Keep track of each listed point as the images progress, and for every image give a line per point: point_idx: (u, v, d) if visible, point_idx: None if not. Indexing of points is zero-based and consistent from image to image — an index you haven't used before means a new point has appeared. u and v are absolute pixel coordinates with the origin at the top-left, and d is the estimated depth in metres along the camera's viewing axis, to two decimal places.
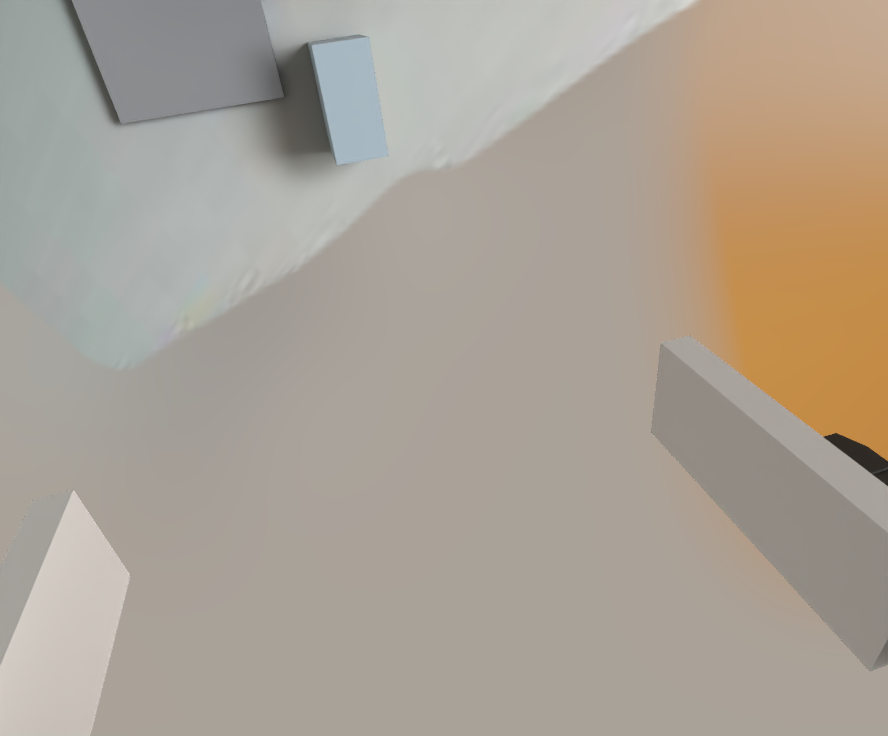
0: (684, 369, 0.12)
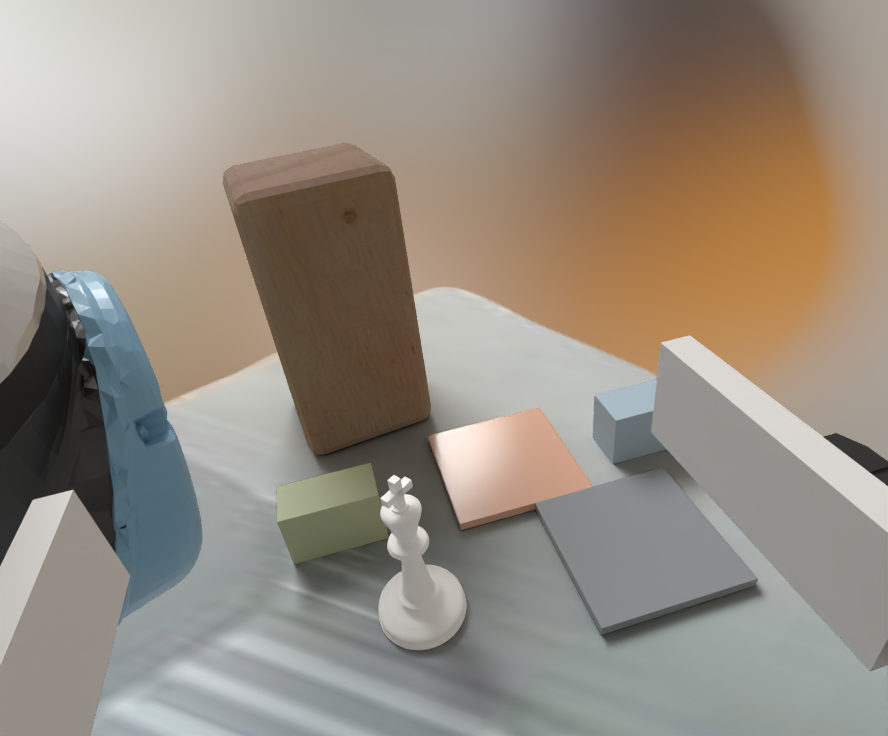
0: (684, 370, 0.12)
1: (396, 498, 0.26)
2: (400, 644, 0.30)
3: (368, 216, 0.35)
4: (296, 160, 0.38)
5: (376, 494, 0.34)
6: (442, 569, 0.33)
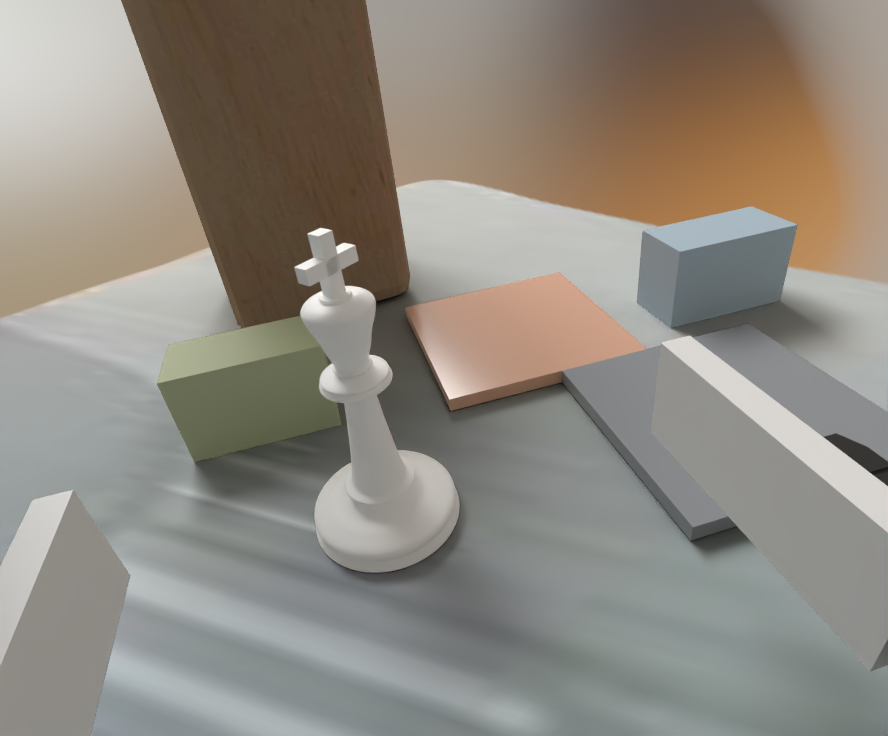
0: (684, 370, 0.12)
1: (325, 271, 0.14)
2: (347, 564, 0.18)
3: None
4: None
5: (317, 345, 0.22)
6: (420, 454, 0.20)
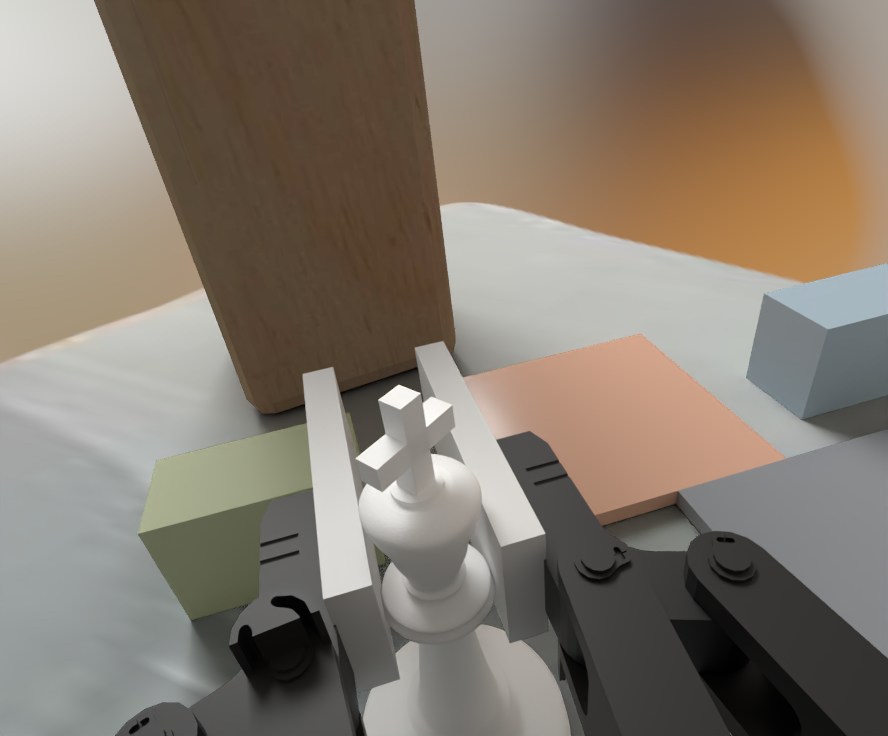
0: (423, 373, 0.14)
1: (407, 459, 0.08)
2: None
3: None
4: None
5: None
6: (505, 635, 0.15)
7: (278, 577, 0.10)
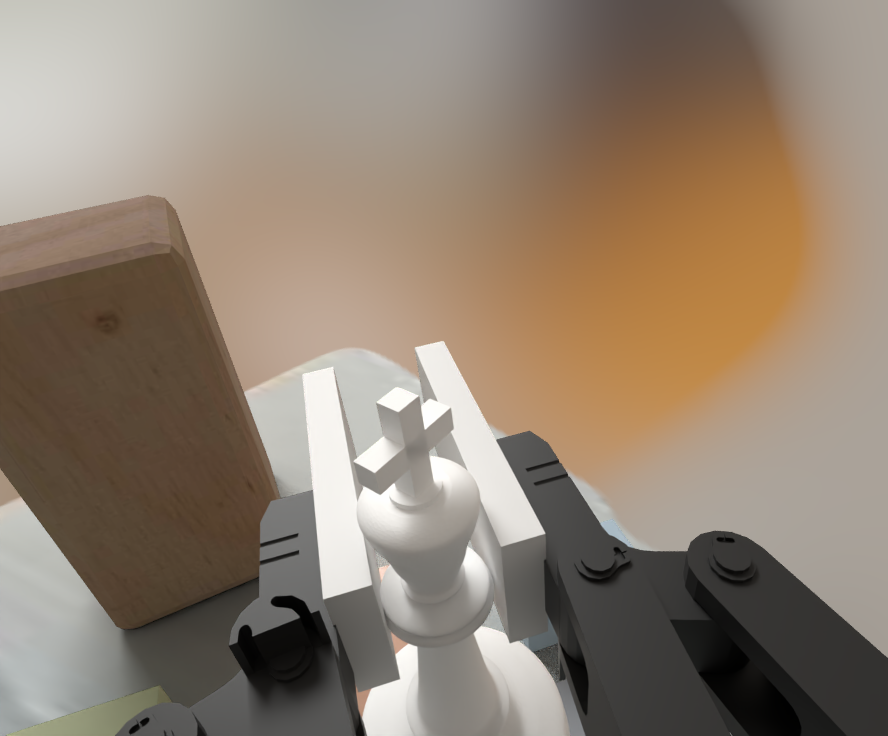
0: (423, 373, 0.14)
1: (405, 462, 0.08)
2: None
3: (140, 320, 0.23)
4: (55, 226, 0.26)
5: None
6: (505, 637, 0.15)
7: (278, 577, 0.10)
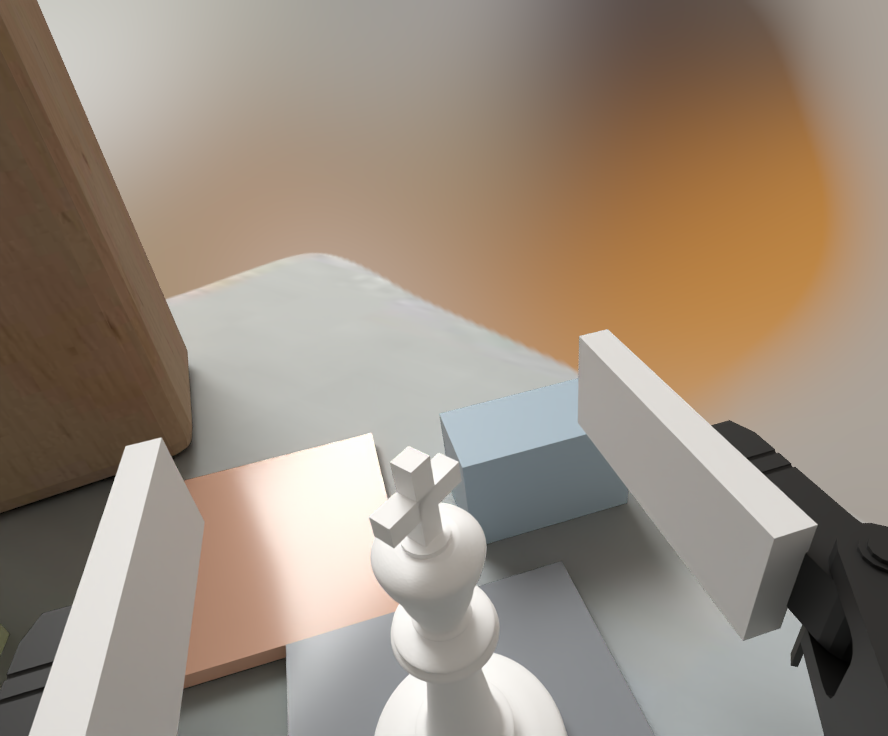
0: (597, 361, 0.13)
1: (417, 516, 0.09)
2: None
3: None
4: None
5: None
6: (509, 662, 0.15)
7: (7, 726, 0.08)
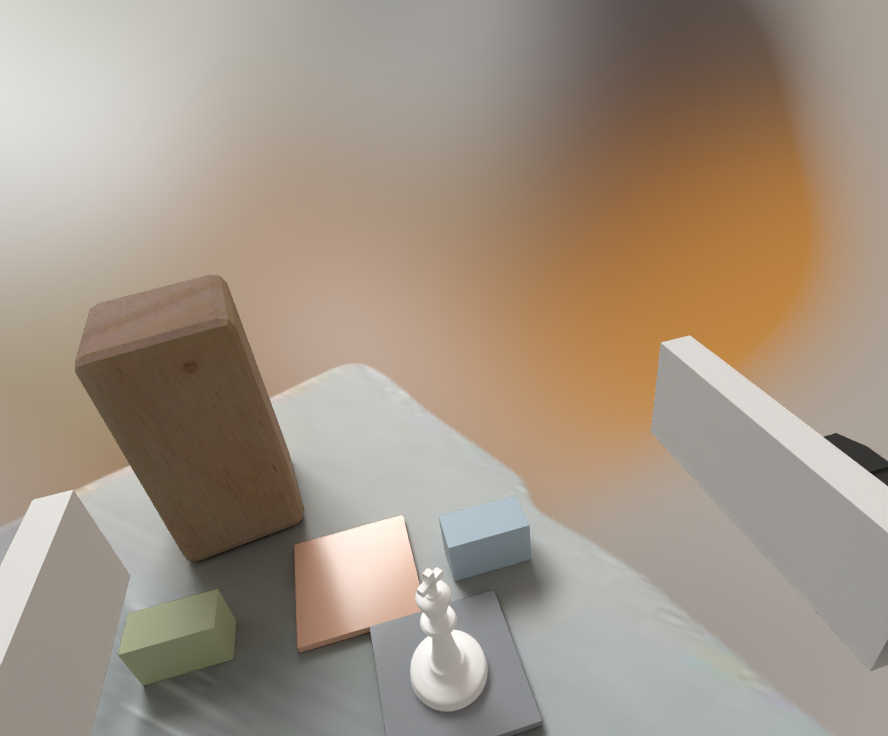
0: (684, 370, 0.12)
1: (430, 588, 0.31)
2: (431, 706, 0.34)
3: (209, 365, 0.38)
4: (154, 301, 0.41)
5: (213, 626, 0.37)
6: (465, 634, 0.37)
7: None
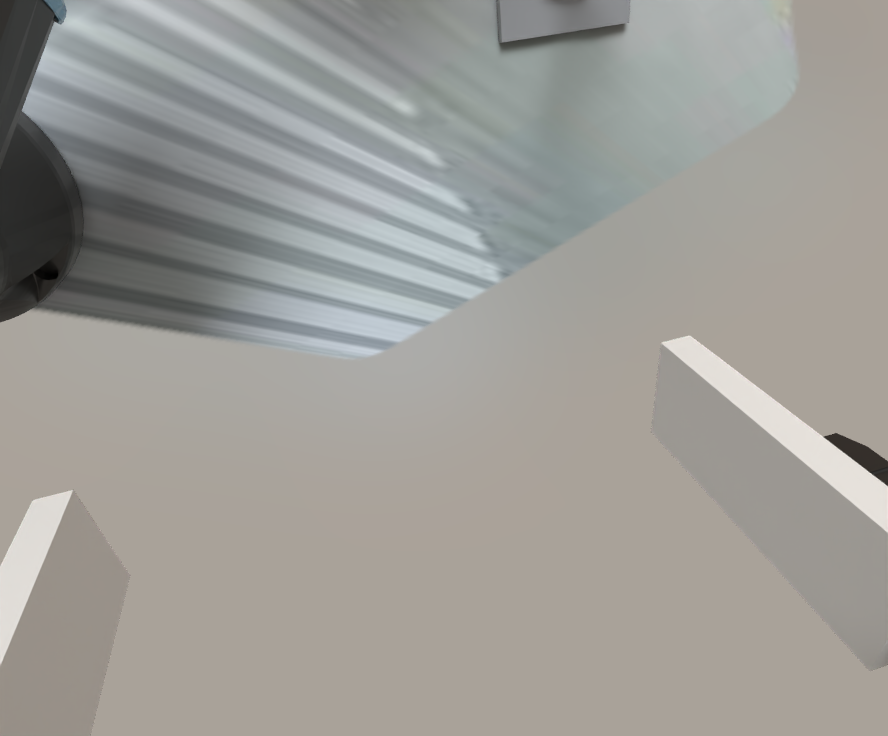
0: (684, 370, 0.12)
1: None
2: None
3: None
4: None
5: None
6: None
7: None
